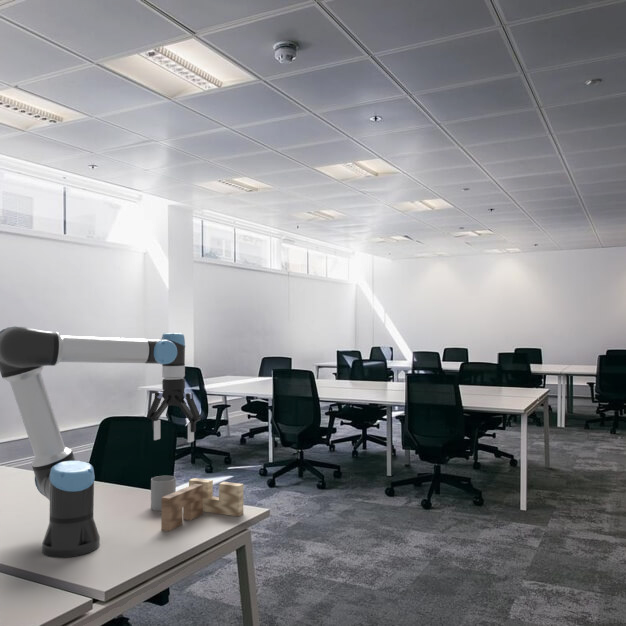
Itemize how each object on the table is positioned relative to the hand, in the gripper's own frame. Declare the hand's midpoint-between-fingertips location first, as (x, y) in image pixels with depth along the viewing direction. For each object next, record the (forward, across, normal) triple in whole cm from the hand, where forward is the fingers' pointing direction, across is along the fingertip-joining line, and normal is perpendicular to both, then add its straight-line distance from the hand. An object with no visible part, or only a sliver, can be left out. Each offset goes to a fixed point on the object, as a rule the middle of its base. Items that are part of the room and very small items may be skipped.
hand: (173, 440), depth 201 cm
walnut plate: (+24, -8, +7) cm, 27 cm away
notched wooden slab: (+24, -13, -6) cm, 28 cm away
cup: (+25, +7, -4) cm, 26 cm away
